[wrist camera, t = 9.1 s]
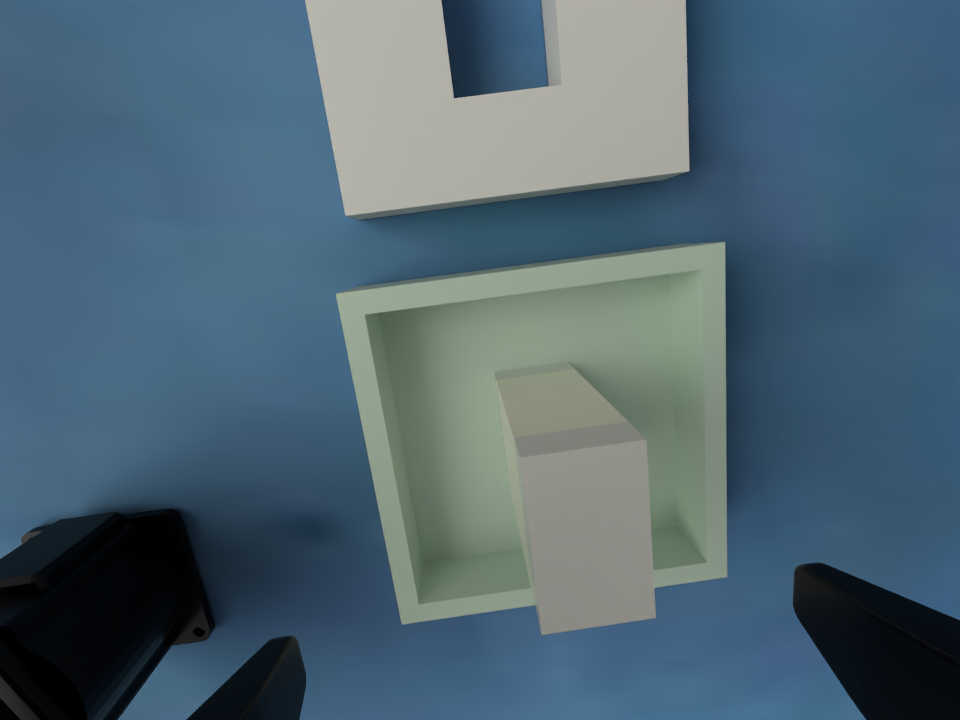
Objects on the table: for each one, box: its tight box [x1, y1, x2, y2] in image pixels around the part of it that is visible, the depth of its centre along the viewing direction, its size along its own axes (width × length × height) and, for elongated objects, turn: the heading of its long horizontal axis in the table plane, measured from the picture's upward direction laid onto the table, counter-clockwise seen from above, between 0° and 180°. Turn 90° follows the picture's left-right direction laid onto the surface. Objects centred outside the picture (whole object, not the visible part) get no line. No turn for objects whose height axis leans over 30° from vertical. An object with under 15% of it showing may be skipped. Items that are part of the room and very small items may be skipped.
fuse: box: [494, 362, 656, 635], centre depth 15 cm, size 5×3×8 cm, turn 7°
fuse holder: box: [305, 0, 689, 220], centre depth 16 cm, size 12×12×2 cm
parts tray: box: [336, 242, 727, 624], centre depth 18 cm, size 13×13×3 cm
